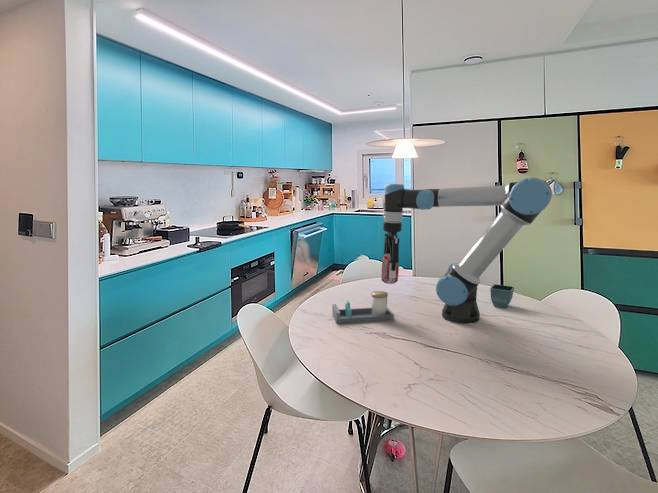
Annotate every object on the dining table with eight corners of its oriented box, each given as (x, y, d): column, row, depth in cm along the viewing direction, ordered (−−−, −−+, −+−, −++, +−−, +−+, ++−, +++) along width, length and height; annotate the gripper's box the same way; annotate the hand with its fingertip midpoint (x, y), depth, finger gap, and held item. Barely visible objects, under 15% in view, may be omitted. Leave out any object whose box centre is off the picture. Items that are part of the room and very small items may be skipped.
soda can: (397, 285, 152) (399, 257, 150) (380, 283, 154) (381, 255, 151) (398, 280, 159) (399, 253, 157) (381, 279, 160) (383, 252, 158)
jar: (388, 314, 159) (388, 291, 157) (385, 319, 152) (386, 296, 151) (373, 312, 161) (373, 290, 159) (369, 317, 154) (369, 295, 153)
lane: (385, 312, 163) (386, 301, 162) (393, 321, 152) (394, 309, 151) (332, 315, 159) (332, 304, 158) (336, 324, 148) (336, 313, 148)
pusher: (347, 313, 159) (347, 298, 158) (351, 321, 151) (351, 305, 149) (345, 314, 159) (345, 298, 157) (349, 321, 150) (349, 305, 149)
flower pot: (492, 301, 176) (494, 283, 174) (513, 305, 171) (514, 286, 169) (488, 306, 169) (489, 288, 167) (509, 310, 164) (511, 291, 162)
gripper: (378, 218, 161) (375, 269, 165) (390, 224, 141) (387, 282, 146) (394, 219, 162) (391, 269, 166) (409, 225, 142) (405, 281, 146)
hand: (389, 275), depth 156 cm, fingers closed on soda can, 7 cm apart
